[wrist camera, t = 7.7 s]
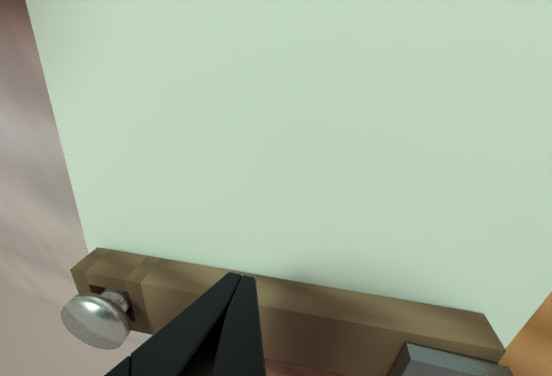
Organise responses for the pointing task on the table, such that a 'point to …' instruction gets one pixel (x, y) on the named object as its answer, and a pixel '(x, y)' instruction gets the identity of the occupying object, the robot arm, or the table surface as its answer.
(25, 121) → the table surface
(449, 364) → the keeper
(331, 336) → the link
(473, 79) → the base plate
